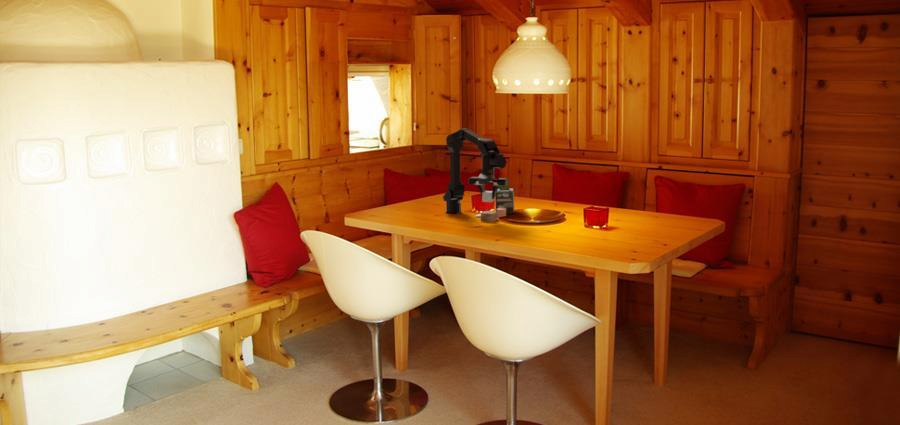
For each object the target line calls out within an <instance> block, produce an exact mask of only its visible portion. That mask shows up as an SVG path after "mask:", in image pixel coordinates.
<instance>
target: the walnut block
mask: <svg viewBox="0 0 900 425" xmlns="http://www.w3.org/2000/svg"><path fill="white" fill-rule="evenodd" d="M480 214H481V217H480V222H490V223H492V222H495V221H497V220H498V217H497V212H496V211H490V210H485V211H482V212H480Z"/></svg>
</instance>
